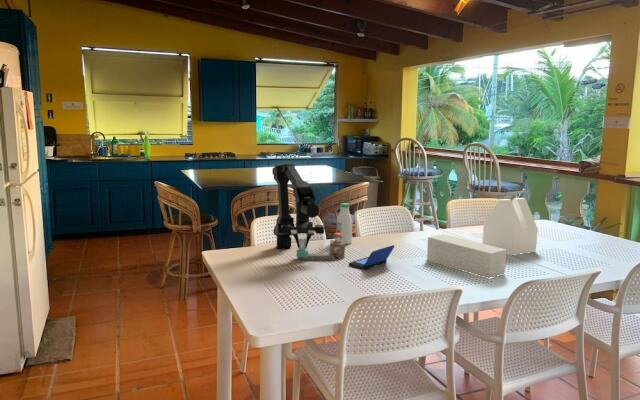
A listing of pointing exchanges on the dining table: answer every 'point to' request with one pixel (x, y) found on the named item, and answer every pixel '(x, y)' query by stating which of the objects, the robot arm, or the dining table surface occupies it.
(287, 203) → the robot arm
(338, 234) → the plunger
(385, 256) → the handheld game console
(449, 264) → the beige long block
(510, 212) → the beige tapered block
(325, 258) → the rail
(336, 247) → the cabinet
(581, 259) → the dining table surface
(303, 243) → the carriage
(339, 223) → the milk bottle
